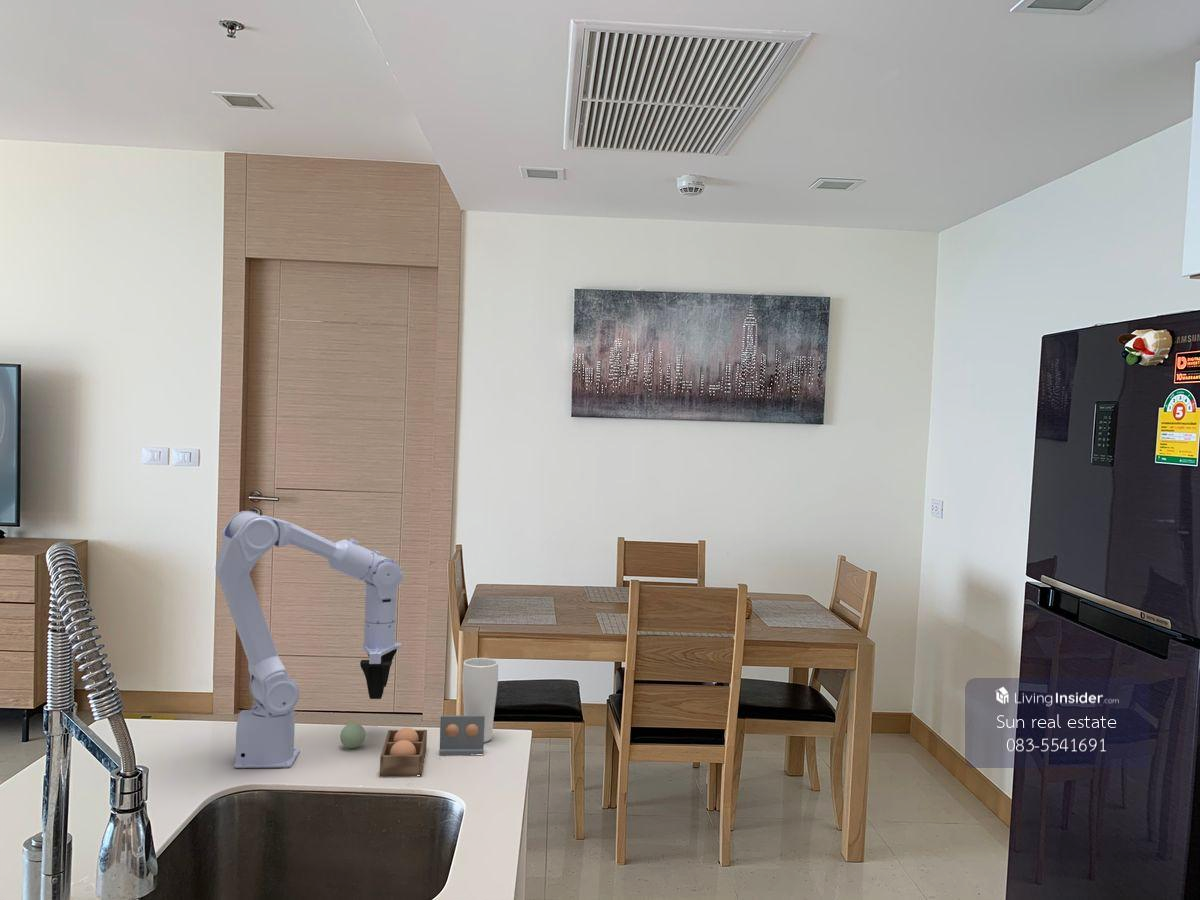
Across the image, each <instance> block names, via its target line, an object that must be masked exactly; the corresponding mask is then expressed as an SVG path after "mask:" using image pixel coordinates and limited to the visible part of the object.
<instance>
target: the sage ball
mask: <svg viewBox="0 0 1200 900" xmlns="http://www.w3.org/2000/svg"><path fill="white" fill-rule="evenodd" d="M339 734H340V735H339V736H340V742H341V743H342V745H343V746H344V747H345V748H348V749H356V748H359V747H360V746H361V745H362V744H363V743H364V742H365V740H366V739H365V738H366V731H365V727H363V725H362V724H360V723H357V722H351V723H348V724H346V725H345V726H344V727H343V728H342V729H341V731H340V733H339Z"/></svg>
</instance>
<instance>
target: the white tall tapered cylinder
mask: <svg viewBox="0 0 1200 900" xmlns="http://www.w3.org/2000/svg"><path fill="white" fill-rule="evenodd" d="M461 680H462V685H461V686H462V701H463V703H462V704H463V706H462V707H463V715H485V720H484V743H487V742H489V741H491V739H492V738H493V731H494V730H493V727H494V717H495V712H496V711H495V709H496V701H497V693H498V683H499V661H498V660H496V659H493V658H490V657H489V658H488V657H474V658H472V657H471V658H468V659H465V660H464V661H463V664H462V678H461Z"/></svg>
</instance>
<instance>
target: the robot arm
mask: <svg viewBox="0 0 1200 900" xmlns="http://www.w3.org/2000/svg"><path fill="white" fill-rule="evenodd" d="M221 533H222V534H221V543H220V547H219V552H218V556H217V559H216V564H215V574H216V576H217V578H218V579H217V580H218V582H219V584H220V587H221V590H222V592H223V595H224V598H225V602H226V604H227V607H228V610H229V613H230V615H231V617H232V620H233V623H234V626H235V628H236V632H237V635H238V637H239V639H240V642H241V646H242V647H243V651H244V654H245V656H246V659H247V662H248V666H247V669H248V672H249V675H250V676H249V678H250V679H249V685H248V686H249V688H248V689H249V692H250V694H251V696H252V697H253V698H254V699H255V700H254V701H253V704H252V707H251V709H243V710H241V711H240V713H239V715H238V717H237V722H236V730H235V760H234V761H235V762H234V765H233V768H235V769H236V768H237V769H238V768H239V769H240V768H241V769H242V768H244V769H246V768H248V769H249V768H253V769H254V768H259V769H260V768H291V767H293V764H294V763H295V760H296V758H297V757H298V755H299V754H300V748H295V727H296V726H295V723H296V722H295V720H296V706H297V704H298V702H299V699H300V688H299V686H298V684H297V682H295V681H294V680H293V679H292V678H291V677H290V676H289V674H288V672H287V669H286V667H285V665H284V664H283V661H282V660H281V658H280V657H279V654H278V651H277V649H276V646H275V643H274V641H273V637H272V635H271V632H270V628H269V625H268V623H267V620H266V617H265V615H264V612H263V609H262V606H261V603H260V600H259V598H258V595H257V591H256V589H255V586H254V584H253V581H252V578H251V575H250V573H251V571H252V570H253V568H254V567H255V565H256V564H257V562H258V561H259V559H260V558H262V557H263V556H264V555H265V554H267V552H269V551H270V550H271V549H272V548H273V547H277V548H281V547H285V546H289V545H292V546H294V547H296V548H300V549H303V550H305V551H307V552H309V553H313V554H315V555H318V556H321V557H323V558H325V559H327V562H328V564H329V565H328V566H329V567H330V568H331V569H332V570H335V571H337V572H339V573H342V574H344V575H347V576H349V577H352V578H354V579H356V580H359V581H360V582H361V581H363V582H364V583H365V599H364V601H365V603H364V605H365V606H364V607H365V608H364V633H363V636H364V637H363V644H362V649H363V650H364V651H365V653H366V654H367V655H368V658H369V659H361V661H360V662H359V666H360V668H361V670H362V671H363V675H364V677H365V680H366V687H367V693H368V697H369V700H381V699H382V697H383V695H384V690H385V688H386V687H387V683H388V679H389V677H390V676H389V675H390V670H391V666H392V665H393V660H394V657H395V655H396V653H397V651H398V650H399V649H401V648H402V643H401V642H397V641H396V633H397V632H396V628H397V627H396V626H397V625H396V624H397V623H396V622H397V599H398V598H397V594H398V593H397V592H398V590H397V589H398V587H399V585H400V584H401V582H402V580H403V577H404V573H403V572H402V569H401V567H400V565H399V563H398V562H397V561H395V560H394V559H391V558H388V557H386V556H383V555H382V554H381V552H380V551H379V550H376V549H373V550H370V549H368V548H366V547H363V546H362V545H359V543H360V542H359V541H358V540H355V539H353V538H350V539H348V540H347V539H341V540H339V541H336V542H333V541H332V540H329V539H328V538H327V539H326V538H324V537H322V536H320V535H319V534H316V533H314V532H311V531H310V530H307V529H306V528H303V527H302V526H299V525H297V524H295V523H292V522H290V521H287V520H283V519H279V518H276V517H273V516H268V515H261V514H258V512H255V511H252V510H242V511H240V512H237V513H235V514H234V515H233V516H232V517H231V518H230V520H229V522H227V524H226V525H225V527H223V529H222V532H221Z"/></svg>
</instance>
